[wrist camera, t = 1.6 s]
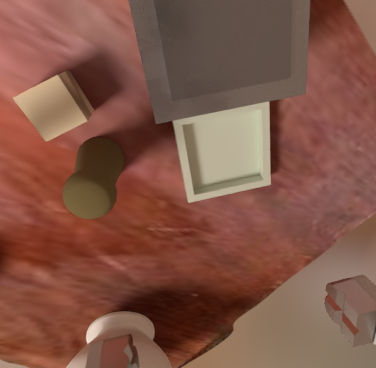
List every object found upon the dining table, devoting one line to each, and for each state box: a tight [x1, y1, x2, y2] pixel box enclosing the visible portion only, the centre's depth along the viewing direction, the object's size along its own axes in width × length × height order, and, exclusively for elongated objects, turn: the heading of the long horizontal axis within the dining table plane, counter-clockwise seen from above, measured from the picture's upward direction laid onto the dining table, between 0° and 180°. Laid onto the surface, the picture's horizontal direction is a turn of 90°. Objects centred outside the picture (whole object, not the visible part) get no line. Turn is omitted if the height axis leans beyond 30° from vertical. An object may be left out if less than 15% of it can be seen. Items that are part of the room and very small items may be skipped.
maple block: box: [13, 70, 94, 142], centre depth 30 cm, size 5×5×5 cm
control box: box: [129, 0, 310, 124], centre depth 25 cm, size 10×12×14 cm
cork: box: [63, 137, 125, 219], centre depth 31 cm, size 6×6×11 cm
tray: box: [172, 102, 271, 203], centre depth 37 cm, size 12×12×2 cm
